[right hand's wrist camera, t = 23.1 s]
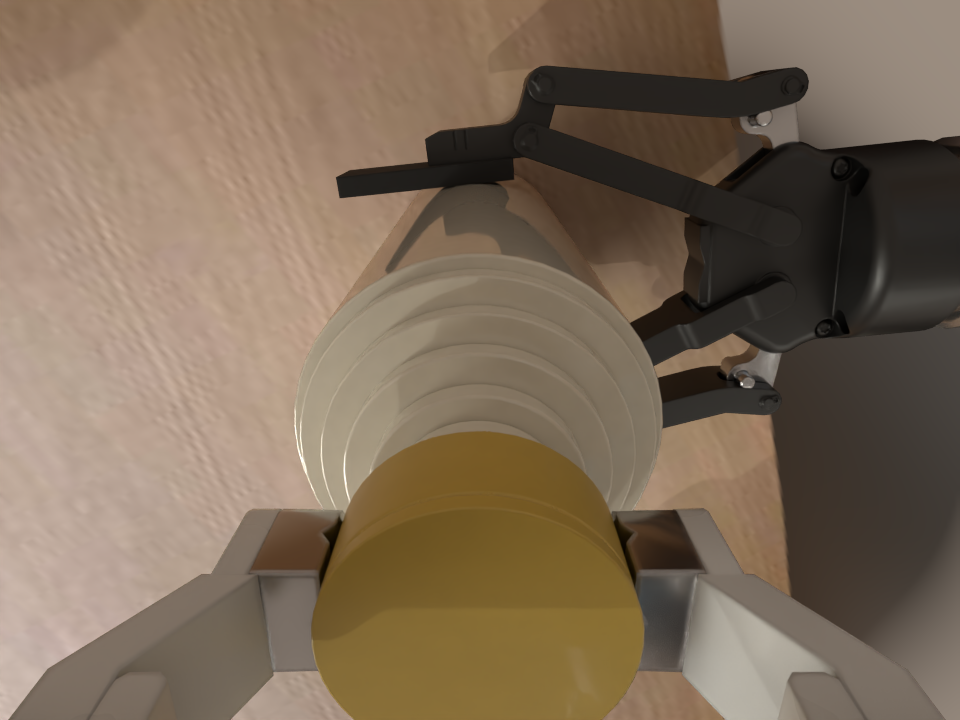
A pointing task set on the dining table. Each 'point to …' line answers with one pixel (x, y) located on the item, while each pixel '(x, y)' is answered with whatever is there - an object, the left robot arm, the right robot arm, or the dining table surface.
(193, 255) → the dining table surface
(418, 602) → the cap
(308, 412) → the bottle
